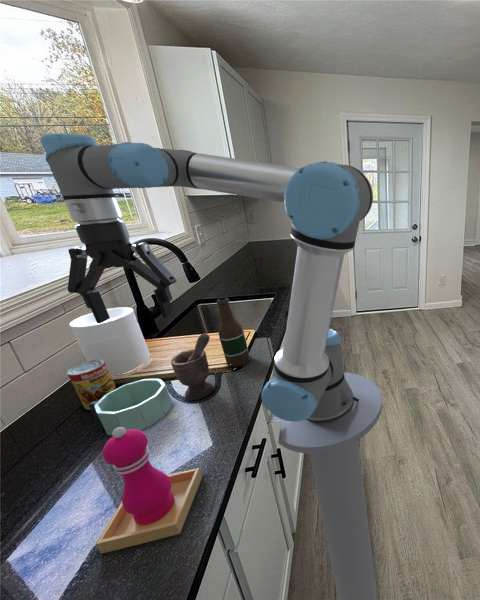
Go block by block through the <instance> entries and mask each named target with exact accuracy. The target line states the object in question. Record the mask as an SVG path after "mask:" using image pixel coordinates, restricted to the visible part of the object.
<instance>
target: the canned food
mask: <svg viewBox="0 0 480 600" xmlns="http://www.w3.org/2000/svg"><path fill="white" fill-rule="evenodd" d="M66 374H67V376H68V378H69V380H70V382H71V384H72V386H73V388H74V390H75V392H76V394H77V396H78V398H79V399H80V402H81V404H82V406H83V408H84V409H85V410H90V411H91V409H90V407H89V404H90V403H91V402H92V401H99V400H100V399H101V398H102V397H103V396H104V395H106V394H107V393H109V392H111V391H113V390H115V389H117V387H116V383H114V380H112V378H111V375H110V373H109V371H108V369H107V366H106V364H105V362H104V360H91V361H84V362H80V363H79V364H76V365H74V366H73V367H71V368H69V369H68V370H67V371H66Z"/></svg>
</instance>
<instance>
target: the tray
mask: <svg viewBox="0 0 480 600" xmlns="http://www.w3.org/2000/svg"><path fill="white" fill-rule="evenodd" d="M166 475H167V476H168V478H169V479H170V481H171V492H172V494H173V496H174V504H173V506H172V508H171V509H170V510H169V512H168V513H167V514H166V515H164V516H163V517H162V518H161V519H159V520H157V521H156V522H153V523H151V524H148V525H138V524H137V523H136V522H135V520H134V518H133V516H132V514H129V513H127V512H126V511H125V509H124V507H123V504H122V501H121V502H120V504H119V505H118V507H117V508H116V510H115V511H114V514H113V515H112V517H111V518H110V519H109V522H108V523H107V524H106V526H105V528H104V530H103V531H102V532H101V534H100V536H99V538H98V540H97V542H96V543H95V546H96V547H97V549H98V551H99V552H100V554H102V555H103V554H106V553H111V552H115V551H118V550H123V549H126V548H130V547H133V546H134V547H135V546H138V545H142V544H146V543H150V542H155V541H158V540H162V539H166V538H169V537H173V536H178V535H180V534H181V532H182V531H183V527H184V525H185V522H186V519H187V517H188V514H189V512H190V510H191V506H192V504H193V502H194V499H195V496H196V494H197V491H198V489H199V488H200V484H201V482H202V479H203V474H202V472H201V469H200V467H197V468H192V469H188V470H182V471H178V472H174V473H173V472H172V473H169V474H166Z"/></svg>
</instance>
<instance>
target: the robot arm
mask: <svg viewBox="0 0 480 600" xmlns="http://www.w3.org/2000/svg"><path fill="white" fill-rule="evenodd" d="M40 143H41V144H40V145H41V147H42V150H43V153H44V155H45V161H46V162H47V164H48V166H49V169H50V171H51V174H52V176H53V178H54V181H55V182H56V185H57V187H58V190H59V192H60V194H61V196H62V198H63V200H64V204H65V206H66V208H67V211H68V213H69V216H70V218H71V221H72V222H74V223H77V224H76V225H75V226H74V228H75V231H76V234H77V236H78V238H79V240H80V242H81V243H82V244H83V245H84V246H85V247H84V246H81V245H80V246H75V247H72V248H69V249H68V255H69V257H70V265H69V273H68V283H67V292H68V293H70V294H74V293H75V294H78V295H80V296H81V297H82V299H83V302H84V303H85V306H86V308H87V309H90V310H91V313H93V315H94V317H95V319H96V322H97V323H102V322H104V321H106V320H108V319H109V318H110V317H109V314H108V312H107V309H108V308H107V307H106V305H105V302H104V299H103V298H102V295H101V293H100V291H99V290H97V289H96V287H97V285H98V283H99V281H100V279H101V277H102V275H103V273H104V271H105V270H106V269H111V268H122V267H124V268H126V269H128V270H131V271H133V272H134V273H135V274H137V275H139V277H141V278H142V279H144V280H146V281H147V282H148V283H149V284H151V285H152V286H153V287H155V289H154V290H153V292H154V295H155V298H156V301H157V304H158V307H159V310H160V312H161V315H162V318H163V319H165V318H166V319H167V318H169V317H170V316H172V315H173V314H174V310H173V306H172V304H171V301H173V295H172V292H171V290H170V286H171V285H174V284H175V283H176V282H177V278H176V277H175V276H174V275H173V274H172V272H171V271H170V270H169V269H168V268H167V267H166V266H165V265H164V263H162V261H161V260H160V259H159V258H158V257H157V256H156V255H155V254H154V253H153V251H152V249H151V247H150V245H149V243H148V242H145V241H144V242H140V243H137V244H133V243H131V241H130V234H129V231H128V228H127V225H126V223H125V221H123V220H121V219H122V218H123V213H122V210H121V208H120V205H119V203H118V199H117V197H116V194H115V192H114V190H115V189H145V188H146V189H150V188H170V187H179V188H180V187H182V188H188V189H189V188H190V189H195V190H204V191H212V192H217V193H223V194H230V195H236V196H242V197H249V198H254V199H260V200H265V201H266V200H267V201H271V202H272V201H273V202H279V203H284V209H285V212H286V215H287V217H288V218H289V220H290V222H291V229H290V237H291V238H292V239H293V241H294V242H295V243H296V244H297V251H296V258H295V265H294V271H293V272H294V273H293V279H292V285H291V293H290V299H289V307H288V308H289V309H288V314H287V321H286V328H285V335H284V343H283V344H284V345H283V347H282V348H281V349H279V350H278V351H277V352H276V354H275V356H274V360H273V367H272V368H273V369H272V373H271V377H270V379H269V381H267V382H266V383H265V384H264V386H263V388H262V390H261V395H260V396H261V402H262V404H263V406H264V407H265V409H266V410H268V412H271V413H272V414H273V415H275V416H276V417H278V418H280V419H283V420H286V421H291V422H298V421H301V420H305V419H306V420H308V421H310V422H315V423H325V422H330V421H334V420H336V419H338V418H340V417H342V416H344V415H345V414H346V413H348V412H349V410H350V409H351V408H352V406H353V403H354V401H357V402H359V399H358V398H355V397H354V396H353V392H352V389H351V388H350V386H349V384H348V382H347V380H346V379H345V376H344V372H345V369H344V361H343V353H342V345H341V343H342V341H341V338H340V335H339V332H337V331H336V330H334V329H332V328H330V327H331V323H332V318H333V312H334V308H335V302H336V297H337V293H338V288H339V283H340V277H341V273H342V268H343V263H344V258H345V255H346V254H347V253H349V252H351V251H352V250H354V249H355V245H356V241H357V237H358V231H359V226H360V222H361V221H362V220H364V219H365V217H367V215H368V214H369V213H370V211H371V210H372V209H371V208H372V206H373V202H374V192H373V188H372V187H373V186H372V185H371V182H370V180H369V179H368V177H367V176H366V175H365V173H363V172H362V171H361V170H360V169H358V168H357V167H355V166H352V165H349V164H341V163H336V162H331V161H326V160H323V161H317V162H312V163H308V164H306V165H304V166H301V167H294V166H288V165H280V164H273V163H267V162H261V161H254V160H248V159H240V158H233V157H227V156H220V155H214V154H213V155H212V154H207V153H198V152H194V151H191V150H186V149H170V148H160V147H153V146H152V145H150V144H148V143H146V142H145V143H144V142H130V141H126V142H125V141H124V142H123V141H122V142H121V143H113V144H111V143H110V144H100V145H98V144H97V141H96V140H95V139H94V138H93V137H92V136H89V135H85V134H79V133H46V134H44V135H42V136H41V138H40ZM134 254H136V255H138V256H139V257H137V256H136V255H134ZM88 257H89V258H91V259H92V260H91V262H90V263H89V266H88V268H89V269H88V270H87V265H88ZM142 261H143V262H144V263H143V262H142ZM86 272H87V273H86Z"/></svg>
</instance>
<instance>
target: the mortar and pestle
mask: <svg viewBox="0 0 480 600" xmlns="http://www.w3.org/2000/svg"><path fill="white" fill-rule="evenodd" d="M210 338H211V337H210V335H209V334H207V333H202V334H200V335H199V336H198V338H197V340H196V343H195V346H194V348H193V349H189V350H183V351H181V352H179V353H177V354H176V355H174V356H173V357H172V358H171V360H170V364H171V367H172V370H173V372H174V375H175V378H176V379H177V380H178V381H179V382H180V384H181V385H182V386H186V387H187V389H186V390H185V393H184V397H185V400H187V401H192V402H193V401H198V400H201V399H203V398H205V397H206V396H208V395H211V394H212V393H213V391H214V387H213V385H212V383H211V382H208V381H206V379H207V378H208V377H209V371H210V367H209V366H210V365H209V362H208V358H207V353H206V351H205V348H206V347H207V345H208V344H209V342H210Z"/></svg>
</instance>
